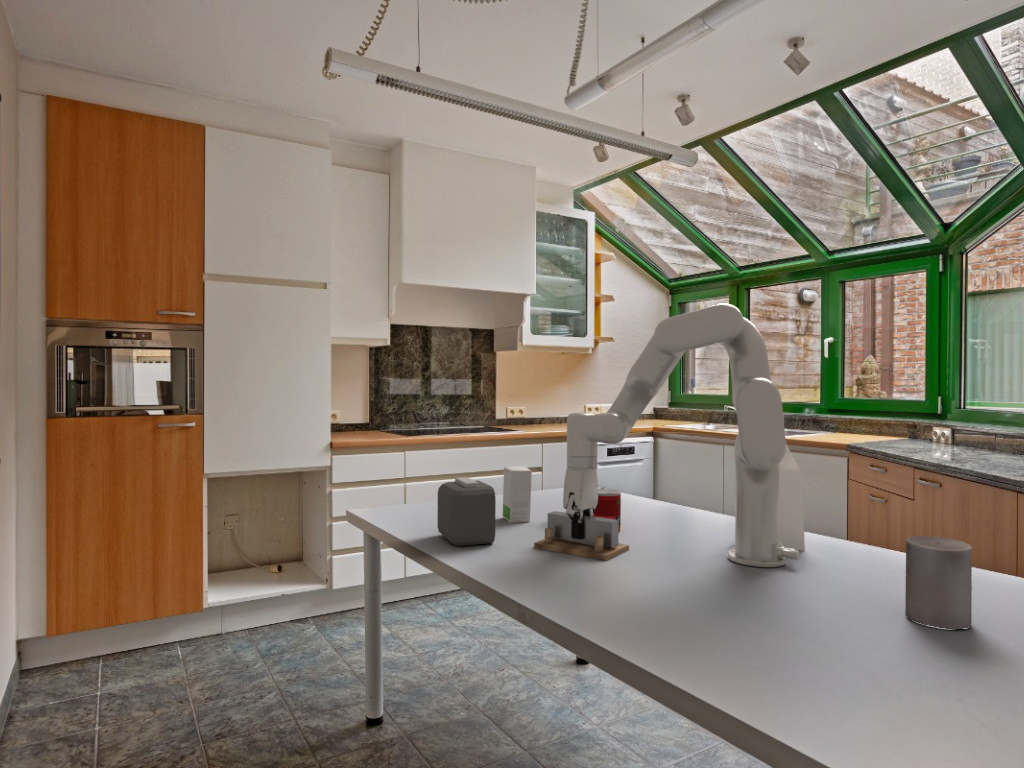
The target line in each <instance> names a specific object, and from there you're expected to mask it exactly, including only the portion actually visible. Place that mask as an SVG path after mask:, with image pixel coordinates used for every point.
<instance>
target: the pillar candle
mask: <svg viewBox="0 0 1024 768" xmlns="http://www.w3.org/2000/svg"><path fill="white" fill-rule="evenodd" d="M972 550H973V547H972V546H971V545H970V544H968V543H966V542H965V541H961V540H957V539H953V538H948V537H940V534H937V536H931V535H930V536H929V535H926V536H924V535H919V536H918V535H917V536H916V535H915V536H909V537H907V538H906V539H905V606H904V607H905V611H904V612H905V615H904V616H905V617H906V616H907V617H908V618H909V619H911V620H913V621H915V622H918V623H921V624H924V625H929V626H934V627H939V628H946V629H963V628H968V627H970V626H971V627H972V621H973V619H972V607H973V606H972V600H973V598H972V597H973V596H972V594H973V593H972V591H973V589H972V588H973V587H972V586H973V584H972V576H973V575H972V571H973V569H972V568H973V567H972V566H973V565H972ZM907 617H906V618H907ZM908 618H907V619H908ZM909 619H908V620H909ZM911 620H910V621H911ZM971 627H970V628H971Z"/></svg>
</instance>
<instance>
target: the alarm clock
mask: <svg viewBox="0 0 1024 768" xmlns="http://www.w3.org/2000/svg"><path fill="white" fill-rule="evenodd" d="M494 489H495V488H494V487H493V486H491V485H489V484H487V483H486V482H483V481H480V480H473V479H472V478H469V477H466V476H465V477H455V479H454V481H447V482H444V483H442V484H441V485H440V486H439V487H438V490H437V531H438V533H440V534H441V535H442V536H443V537H444V538H445V539H446V540H448V541H449V542H450V543H451V544H453V545H454V546H457V547H459V546H461V547H462V546H473V545H485V544H493V543H494V542H495V540H496V501H497V500H496V491H495V490H494Z"/></svg>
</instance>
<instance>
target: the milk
mask: <svg viewBox="0 0 1024 768" xmlns="http://www.w3.org/2000/svg"><path fill="white" fill-rule="evenodd" d="M803 499H804V497H803V477H802V472H801V470H800V468H799V466H798V464H797V462H796V460H795V458H794V456H793V454H792V452H791V450H790V448H789V446H788V444H787V443H786V452H785V456H784V458H783V460H782V461H781V462H780V464H779V541H782V542H783V547H785V548H788V549H789V548H790V549H795V550H796V551H805V550H806V543H805V541H806V540H805V539H806V538H805V522H804V521H805V520H804V519H805V518H804V517H805V516H804V500H803Z"/></svg>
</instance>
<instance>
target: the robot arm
mask: <svg viewBox="0 0 1024 768" xmlns="http://www.w3.org/2000/svg"><path fill="white" fill-rule="evenodd" d="M716 344H720V345H721V346H722V347H723V348H724V349H725V350H726V353H727V356H728V360H729V361H728V362H729V368H730V369H729V370H730V376H731V389H732V391H731V392H732V395H731V398H732V405H733V407H734V409H735V411H736V412H735V413H736V420H737V429H738V433H737V435H736V438H735V442H734V460H735V461H734V464H735V502H734V505H735V506H734V507H735V512H734V513H735V522H734V525H735V526H734V527H735V529H734V531H735V532H734V536H735V537H734V549H731V550H729V551H728V553H727V558H728V559H729V561H731V562H733V563H736V564H741V565H743V566H744V565H745V566H747V567H748V566H750V567H756V568H757V567H758V568H777V567H782V566H784V565H786V564H787V559H791V560H797V561H798V560H799V557H800V552H799V551H800V550H795V549H790V548H789V549H788V548H785V547H783V542H782V541H779V464H780V462H781V461H782V460H783V458H784V456H785V452H786V444H787V441H786V440H787V439H786V428H785V420H784V419H785V417H784V410H783V402H782V397H781V393H780V391H779V389H778V387H777V386H776V385H775V384H774V382H772V379H771V370H770V363H769V356H768V350H767V345H766V343H765V339H764V338H763V335H762V334H761V332H760V331H759V329H758V328H757V327H756V326H755V324H753V322H751V321H750V320H749V319H748V318H746V317H743V313H742V312H741V310H739V308H738V307H736V306H735V305H733V304H730V303H717V304H714V305H710V306H707V307H703V308H699V309H696V310H692V311H689V312H686V313H681V314H676V315H673V316H669V317H666V318H664V319H662V320H661V321H660V322H659V323H658V324H657V326H656V327H655V329H654V333H653V335H652V336H651V337H650V339H649V341H648V342H647V344H646V345H645V347H644V348H643V350H642V352H641V353H640V354H639V356H638V358H637V359H636V360H635V361H634V364H633V365H632V367H631V368H630V370H629V371H628V374H627V375H626V380H625V382H624V385H623V386H622V388H621V389H620V392H619V393H618V395H617V397H616V398H615V399H614V401H613V403H612V404H611V406H610V407H609V409H608V411H606V413H602V414H595V413H591V412H572V413H569V414H568V415H567V418H566V470H565V474H564V484H563V496H562V497H563V498H562V504H563V505H562V507H563V509H564V510H565V513H566V514H567V515H568V516H569V517H570V522H571V537H572V538H574V539H580V540H582V539H584V523H582V517H583V515H586V516H593V513H594V509H595V508H596V506H597V503H598V489H599V484H598V482H599V481H598V473H597V470H598V443H599V444H600V443H601V444H607V445H616V444H619V443H621V442H622V441H624V440H625V439H626V438H627V436H628V435H629V434H630V432H631V431H632V429H633V428H634V426H635V425H636V423H637V421H638V419H639V418H640V417H641V416H642V414H643V413H644V411H645V409H646V408H647V407H648V405H649V404H650V402H651V401H652V400H653V399H654V398H655V397H656V396H657V394H658V393H659V392H660V390H661V388H662V387H663V386H664V384H665V382H666V381H667V380H668V378H669V377H670V375H671V374H672V372H673V370H674V369H675V368H676V366H677V365H678V363H679V362H680V360H681V359H682V357H683V356H684V354H685V353H686V352H687V351H692V350H696V349H701V348H704V347H709V346H711V345H716ZM575 507H577V509H575ZM585 510H586V511H585ZM575 512H578V513H579V515H577V513H575Z"/></svg>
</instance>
